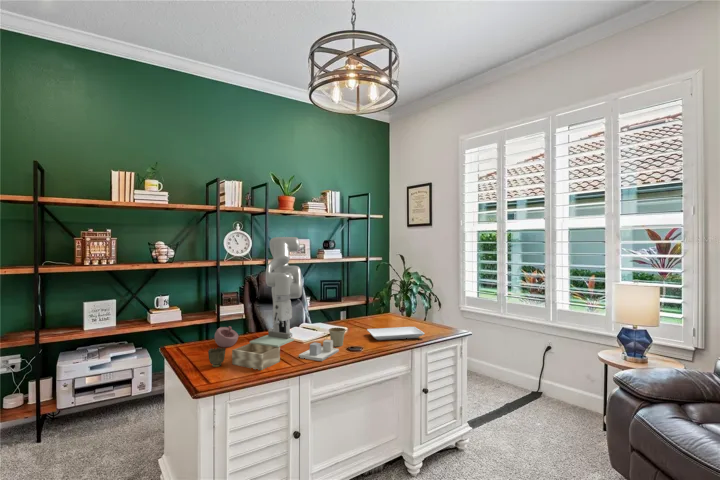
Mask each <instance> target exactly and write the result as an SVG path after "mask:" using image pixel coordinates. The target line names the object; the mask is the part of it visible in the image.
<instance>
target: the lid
mask: <svg viewBox="0 0 720 480" xmlns="http://www.w3.org/2000/svg"><path fill="white" fill-rule="evenodd" d="M293 341H295V338H291V337H290V334H289V333H282V332H274V331H269V332H268V334H267V335H263V336H260V337H258V338H254V339H252V340H249V343H248V344H250V343H253V344H260V345H266V346H273V347H280V348H281V347H282V346H284V345H286V344H289V343H291V342H293Z"/></svg>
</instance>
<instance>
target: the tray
mask: <svg viewBox="0 0 720 480" xmlns="http://www.w3.org/2000/svg"><path fill="white" fill-rule="evenodd" d="M366 331H367V332H368V333H369V334H370V335H371V336H372V337H373V338H374V339H375V340H377V341H386V340H387V341H388V340H402V339H404V340H405V339H406V338H407V339H418V338H419V337H422V336H424V335H425V332H424V331H422V330H421V329H419V328H417V327H416V326H399V327H397V326H396V327H384V328H382V327H381V328H380V327H379V328H367V329H366Z"/></svg>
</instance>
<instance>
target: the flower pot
mask: <svg viewBox="0 0 720 480" xmlns="http://www.w3.org/2000/svg"><path fill="white" fill-rule="evenodd" d="M346 330H347V329H346V328H344V327H331V328H328V332H329V337H330V340H333V348H335V347H336V348H337V347H340V348H341V347H342V346H344V338H345V333H346Z"/></svg>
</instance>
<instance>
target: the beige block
mask: <svg viewBox="0 0 720 480" xmlns="http://www.w3.org/2000/svg"><path fill="white" fill-rule="evenodd" d="M322 347H323V352H331V351H332V350H333V348H334V346H333V340H331V339H324V340H323V342H322Z"/></svg>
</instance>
